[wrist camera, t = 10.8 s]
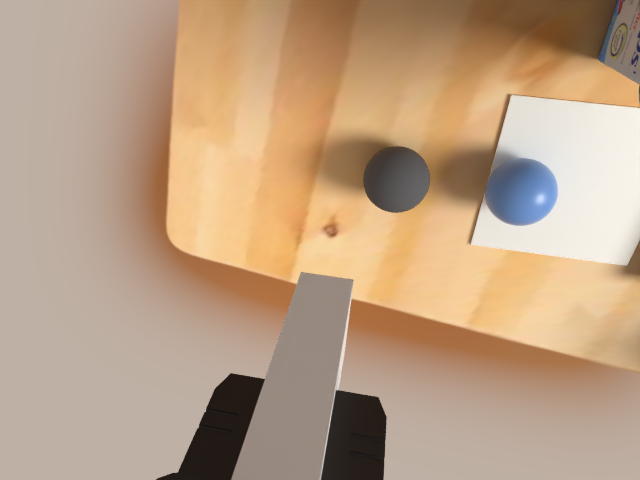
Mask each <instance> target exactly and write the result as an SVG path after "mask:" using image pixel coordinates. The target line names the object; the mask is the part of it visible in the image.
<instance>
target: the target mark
mask: <svg viewBox="0 0 640 480" xmlns="http://www.w3.org/2000/svg"><path fill="white" fill-rule="evenodd" d="M517 158H528V159H533V160H536V161H539V162H541V163H543V164H544V165H545V166H547V167H548V168H549V169H550V170H551V171H552V173H553V174H554V176H555V178H556V181H557V184H558V197H557V201H556V203H555V206H554V207H553V209H552V210H551V212H550V213H549V214H548V215H547V216H546V217H544V218H543V219H542V220H540V221H538V222H536V223H534V224H530V225H525V226H515V225H510V224H507V223H504V222H502V221H501V220H499V219H498V218H496V217H495V216H494V215H493V214H492V213H491V211H490V210H489V208H488V206H487V203H486V200H485V193H484V196H483V200H482V204H481V207H480V211H479V215H478V218H477V222H476V226H475V229H474V233H473V237H472V240H471V245H476V246H484V247H491V248H499V249H506V250H513V251H521V252H528V253H536V254H543V255H550V256H558V257H565V258H573V259H580V260H587V261H595V262H602V263H610V264H617V265H625V266H627V265H628V263H629V261H630V259H631V257H632V255H633V253H634V251H635V248H636V246H637V244H638V242H639V240H640V108H638V107H628V106H619V105H609V104H599V103H589V102H580V101H570V100H560V99H550V98H540V97H531V96H521V95H511V97H510V101H509V104H508V108H507V112H506V115H505V119H504V123H503V126H502V130H501V134H500V137H499V141H498V145H497V148H496V152H495V156H494V160H493V163H492V167H491V171H490V174H489V177H490V175H491V174H492V172H493V171H494V170H495V169H496V168H497V167H498V166H500V165H501V164H503V163H505V162H507V161H509V160H512V159H517ZM488 179H489V178H488Z"/></svg>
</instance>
